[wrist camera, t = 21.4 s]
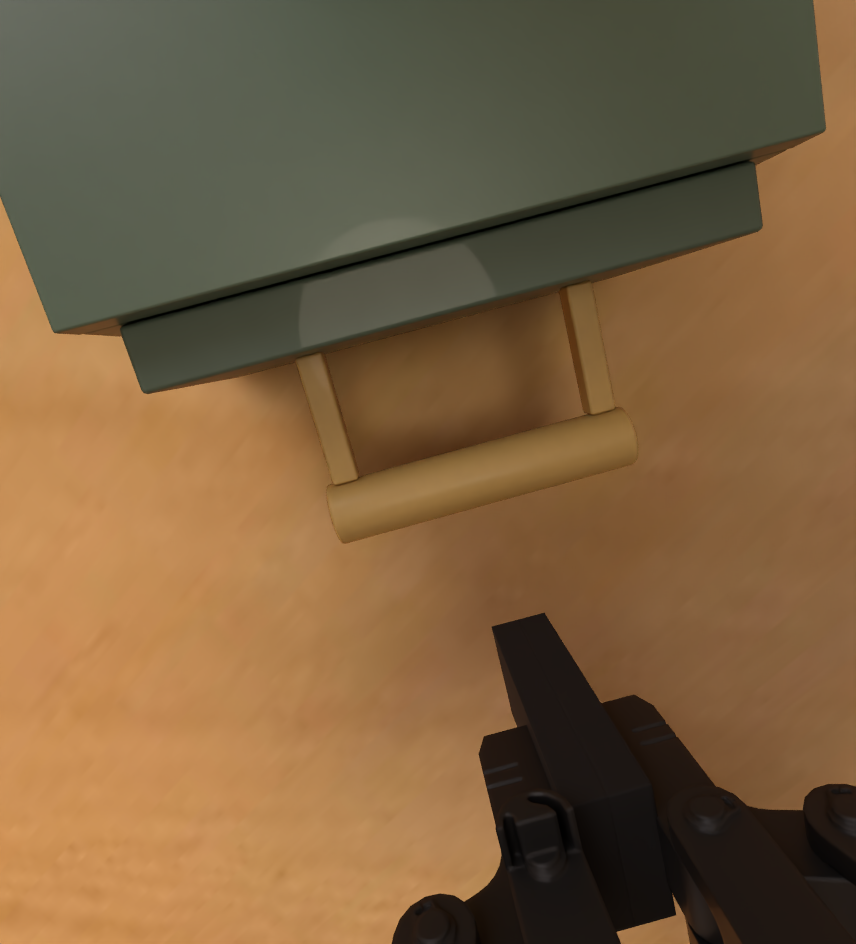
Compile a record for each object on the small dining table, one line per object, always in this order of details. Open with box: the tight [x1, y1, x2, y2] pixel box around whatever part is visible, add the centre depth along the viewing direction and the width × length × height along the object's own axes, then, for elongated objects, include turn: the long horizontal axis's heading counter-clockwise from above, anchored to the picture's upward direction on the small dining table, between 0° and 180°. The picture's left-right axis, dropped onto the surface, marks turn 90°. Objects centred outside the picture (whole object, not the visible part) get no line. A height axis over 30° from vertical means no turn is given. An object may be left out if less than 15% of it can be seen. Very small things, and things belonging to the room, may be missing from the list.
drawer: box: [120, 161, 763, 544], centre depth 13 cm, size 19×11×7 cm, turn 15°
